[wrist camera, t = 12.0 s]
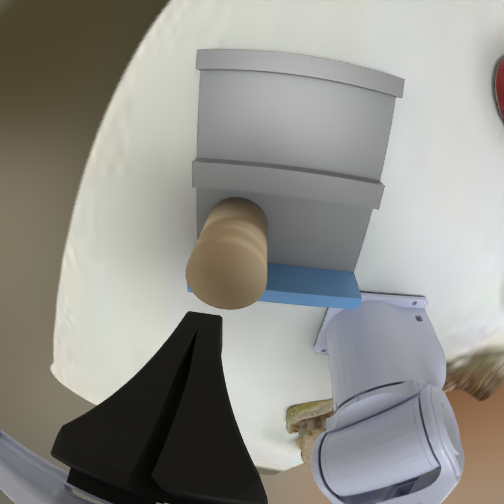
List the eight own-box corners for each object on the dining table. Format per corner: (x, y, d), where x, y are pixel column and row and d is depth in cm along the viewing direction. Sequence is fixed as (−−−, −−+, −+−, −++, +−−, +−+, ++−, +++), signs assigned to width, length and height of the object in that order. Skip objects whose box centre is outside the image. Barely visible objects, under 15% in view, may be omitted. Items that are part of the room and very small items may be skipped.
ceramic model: (388, 389, 31) (400, 454, 23) (369, 421, 37) (375, 473, 29) (285, 398, 33) (283, 467, 25) (286, 428, 39) (283, 482, 31)
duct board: (391, 79, 13) (420, 79, 10) (347, 274, 22) (357, 309, 18) (205, 53, 14) (186, 44, 10) (201, 258, 22) (187, 291, 19)
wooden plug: (267, 196, 18) (267, 243, 13) (267, 251, 20) (266, 310, 15) (205, 197, 18) (179, 243, 13) (210, 250, 20) (192, 308, 15)
